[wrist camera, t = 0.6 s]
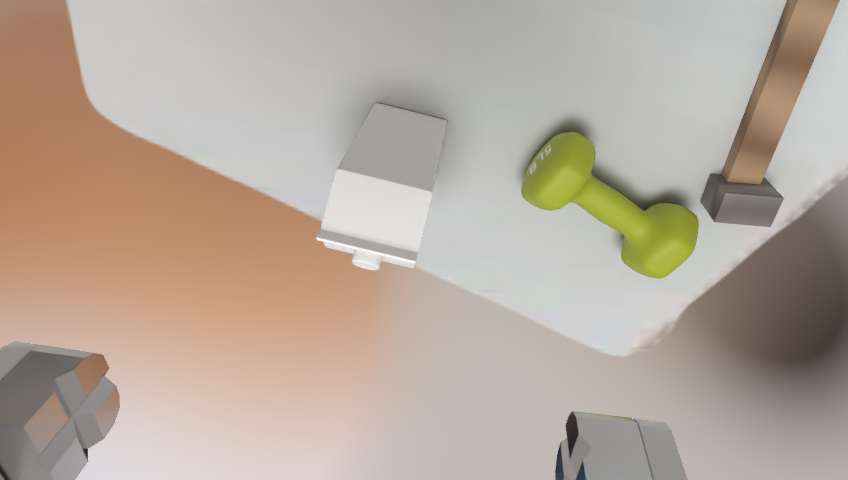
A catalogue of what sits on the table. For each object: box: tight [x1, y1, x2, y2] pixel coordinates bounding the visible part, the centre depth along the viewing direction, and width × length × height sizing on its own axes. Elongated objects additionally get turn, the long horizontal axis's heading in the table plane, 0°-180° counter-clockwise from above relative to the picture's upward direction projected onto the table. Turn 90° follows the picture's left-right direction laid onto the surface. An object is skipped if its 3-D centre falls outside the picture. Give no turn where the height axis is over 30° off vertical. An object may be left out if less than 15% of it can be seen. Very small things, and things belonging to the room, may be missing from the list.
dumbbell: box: [521, 132, 698, 279], centre depth 51 cm, size 16×8×7 cm, turn 57°
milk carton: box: [316, 103, 447, 270], centre depth 45 cm, size 7×7×19 cm
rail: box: [701, 0, 839, 227], centre depth 43 cm, size 30×5×4 cm, turn 177°
